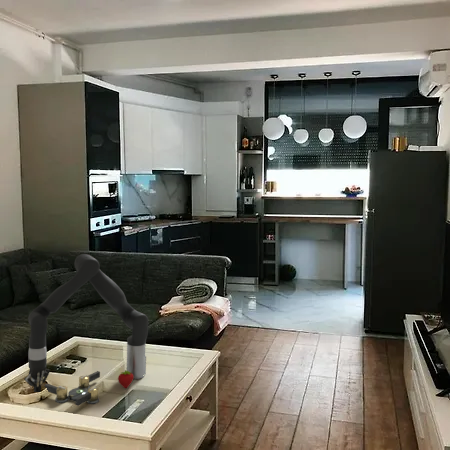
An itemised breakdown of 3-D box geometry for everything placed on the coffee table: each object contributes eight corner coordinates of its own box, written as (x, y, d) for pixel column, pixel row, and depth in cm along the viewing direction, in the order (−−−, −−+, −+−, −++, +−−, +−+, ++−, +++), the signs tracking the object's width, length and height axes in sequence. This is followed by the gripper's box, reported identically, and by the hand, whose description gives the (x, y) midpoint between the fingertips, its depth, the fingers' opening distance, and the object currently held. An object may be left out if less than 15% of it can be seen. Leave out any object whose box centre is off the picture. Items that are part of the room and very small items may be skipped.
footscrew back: (84, 389, 233) (84, 379, 233) (76, 387, 235) (77, 376, 235) (102, 380, 244) (102, 370, 243) (95, 377, 246) (95, 368, 246)
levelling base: (83, 385, 240) (83, 378, 240) (112, 394, 232) (112, 387, 232) (52, 400, 223) (52, 394, 223) (82, 411, 215) (82, 404, 215)
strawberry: (115, 387, 239) (116, 367, 238) (130, 384, 243) (130, 364, 242) (120, 392, 234) (121, 372, 233) (135, 389, 239) (135, 369, 237)
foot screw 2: (92, 395, 228) (92, 385, 227) (100, 398, 226) (100, 387, 225) (72, 406, 217) (73, 395, 216) (80, 409, 215) (80, 398, 214)
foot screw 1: (69, 397, 225) (69, 386, 224) (61, 401, 221) (61, 390, 220) (50, 390, 231) (50, 380, 230) (42, 394, 227) (42, 383, 226)
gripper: (31, 363, 213) (31, 401, 215) (55, 353, 224) (55, 390, 226) (19, 359, 216) (19, 397, 218) (43, 349, 228) (43, 385, 230)
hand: (37, 393), depth 222 cm, fingers closed
